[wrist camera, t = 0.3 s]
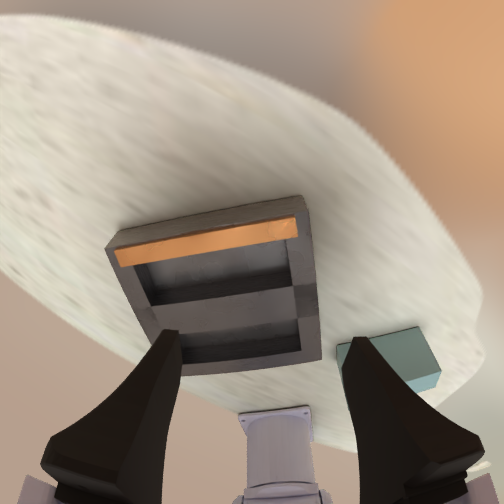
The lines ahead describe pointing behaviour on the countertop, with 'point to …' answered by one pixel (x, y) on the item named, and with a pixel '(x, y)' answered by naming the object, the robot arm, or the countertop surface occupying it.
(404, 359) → the panel
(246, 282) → the panel rack
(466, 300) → the countertop surface
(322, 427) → the countertop surface
